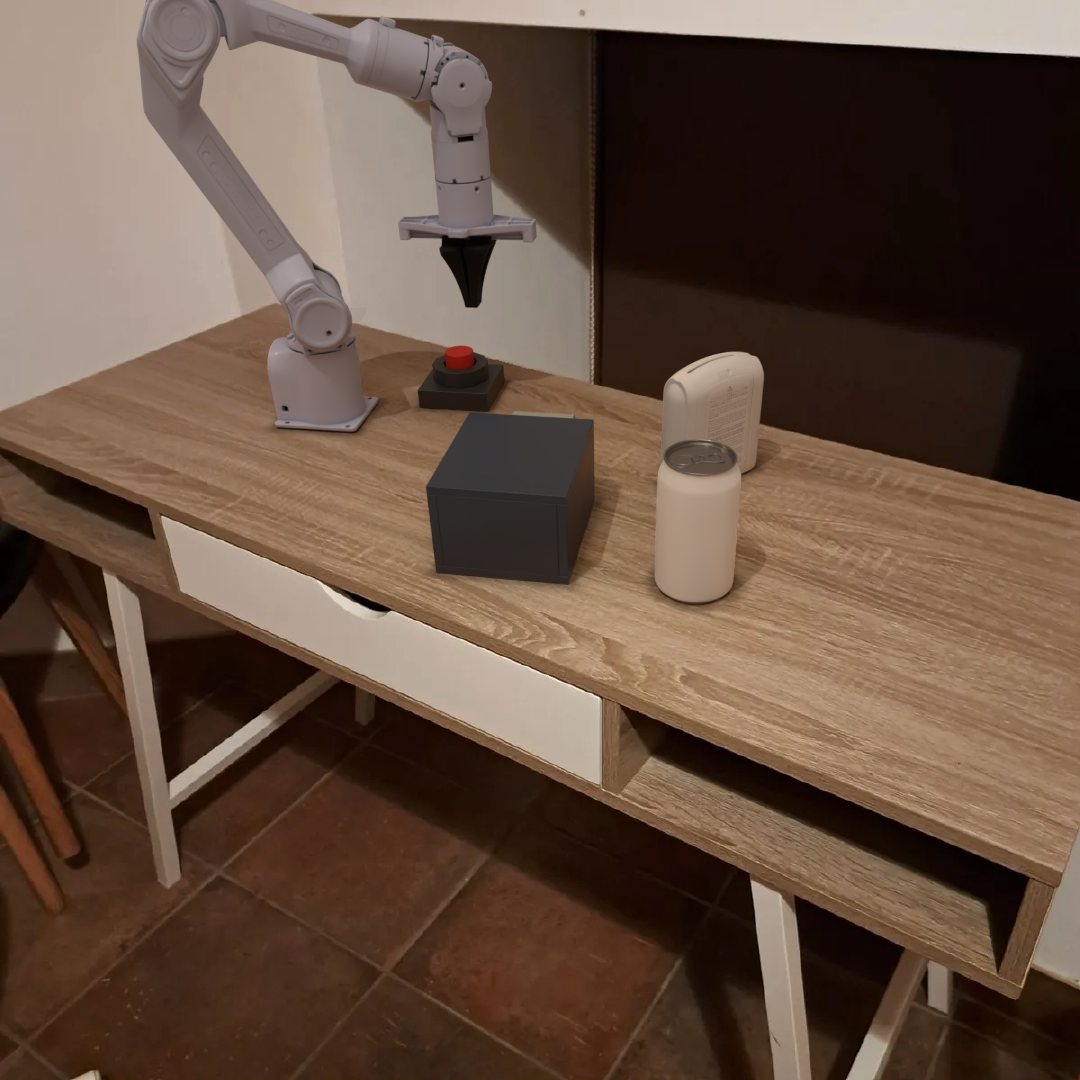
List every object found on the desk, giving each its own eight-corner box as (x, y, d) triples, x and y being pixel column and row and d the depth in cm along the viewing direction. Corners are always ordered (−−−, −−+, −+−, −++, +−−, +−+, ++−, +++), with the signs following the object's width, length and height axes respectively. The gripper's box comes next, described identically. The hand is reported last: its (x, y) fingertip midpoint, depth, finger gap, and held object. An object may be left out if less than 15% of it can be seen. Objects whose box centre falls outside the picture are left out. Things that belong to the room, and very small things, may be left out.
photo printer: (732, 452, 102) (741, 336, 96) (762, 468, 99) (773, 350, 92) (652, 483, 98) (655, 364, 91) (681, 501, 95) (687, 380, 88)
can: (648, 564, 86) (651, 439, 80) (722, 557, 87) (731, 433, 80) (662, 609, 81) (666, 480, 74) (741, 603, 81) (753, 473, 75)
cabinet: (476, 492, 98) (469, 412, 93) (594, 501, 95) (593, 419, 91) (435, 572, 87) (425, 486, 82) (568, 584, 84) (566, 496, 80)
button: (442, 370, 113) (441, 355, 112) (450, 359, 116) (449, 344, 115) (470, 371, 113) (469, 357, 112) (477, 360, 115) (476, 345, 114)
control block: (419, 407, 114) (415, 375, 112) (439, 378, 120) (436, 346, 118) (488, 411, 112) (485, 378, 110) (504, 381, 119) (502, 349, 117)
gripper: (382, 186, 102) (399, 315, 109) (523, 188, 99) (530, 320, 106) (404, 169, 108) (418, 292, 115) (538, 170, 105) (543, 296, 112)
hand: (473, 304), depth 111 cm, fingers closed
